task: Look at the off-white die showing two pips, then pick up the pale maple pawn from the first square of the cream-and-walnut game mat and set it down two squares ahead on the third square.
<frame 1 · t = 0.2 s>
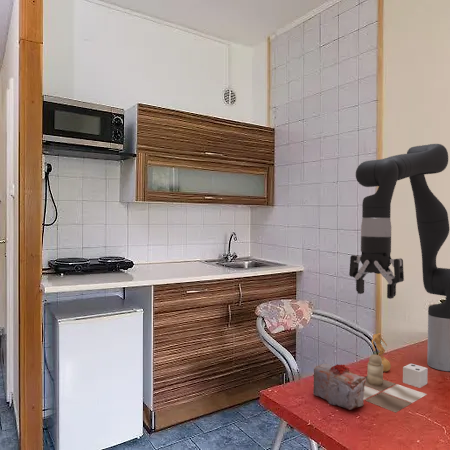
hand: (375, 295, 105), 29 cm above the table, tool pointing down, fingers open, 8 cm apart
figurine: (380, 370, 129), on the table
food item: (338, 402, 106), on the table
die: (414, 384, 119), on the table
pawn: (375, 382, 118), resting on game mat
game mat: (381, 392, 112), on the table
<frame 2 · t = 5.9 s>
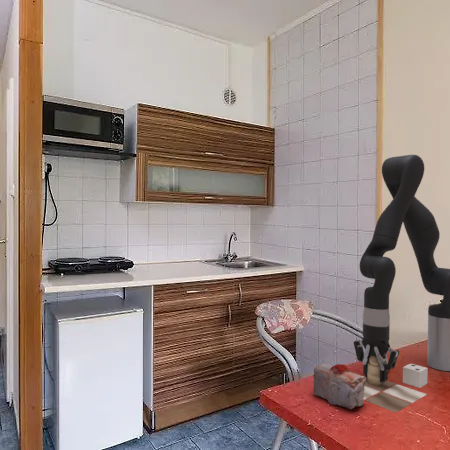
hand: (375, 379, 118), 1 cm above the table, tool pointing down, fingers closed on pawn, 4 cm apart
pawn: (375, 382, 118), resting on game mat, touching gripper
everything else where it was.
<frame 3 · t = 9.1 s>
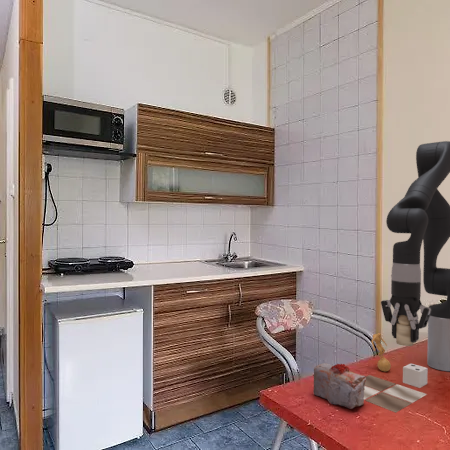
hand: (404, 339, 111), 15 cm above the table, tool pointing down, fingers closed on pawn, 4 cm apart
pawn: (404, 343, 111), point 14 cm above the table, touching gripper
everything else where it was.
when the fingers open (3 cm above the table, at t = 12.5 s): pawn drops 2 cm, resting on game mat.
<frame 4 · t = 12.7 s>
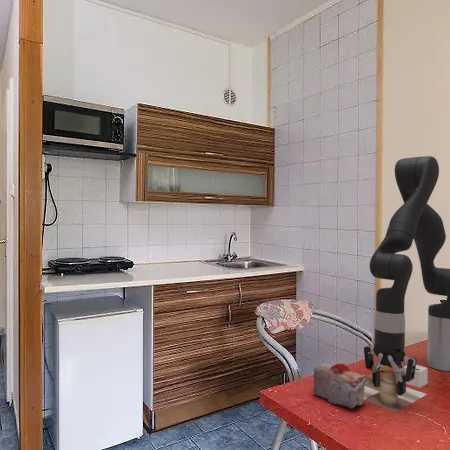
hand: (388, 390, 106), 3 cm above the table, tool pointing down, fingers open, 6 cm apart
pawn: (388, 401, 106), resting on game mat
everything else where it was.
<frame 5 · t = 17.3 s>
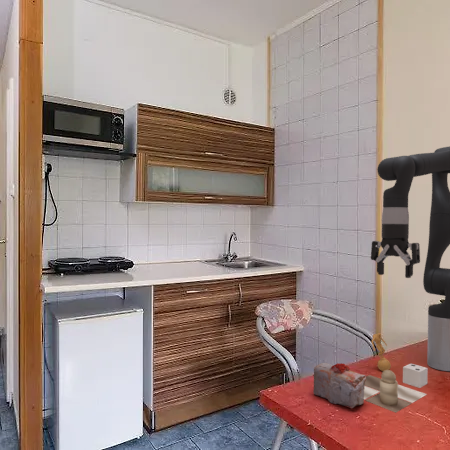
hand: (394, 276, 120), 32 cm above the table, tool pointing down, fingers open, 8 cm apart
nothing on the table moved.
at the end: pawn 0.1 cm from the target spot, resting on game mat; pawn tilted 1°; the gripper is holding nothing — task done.
